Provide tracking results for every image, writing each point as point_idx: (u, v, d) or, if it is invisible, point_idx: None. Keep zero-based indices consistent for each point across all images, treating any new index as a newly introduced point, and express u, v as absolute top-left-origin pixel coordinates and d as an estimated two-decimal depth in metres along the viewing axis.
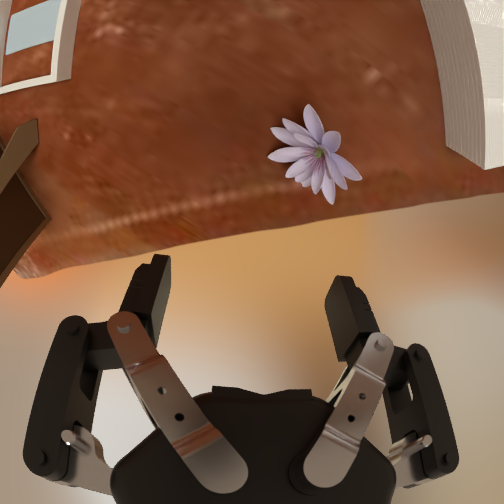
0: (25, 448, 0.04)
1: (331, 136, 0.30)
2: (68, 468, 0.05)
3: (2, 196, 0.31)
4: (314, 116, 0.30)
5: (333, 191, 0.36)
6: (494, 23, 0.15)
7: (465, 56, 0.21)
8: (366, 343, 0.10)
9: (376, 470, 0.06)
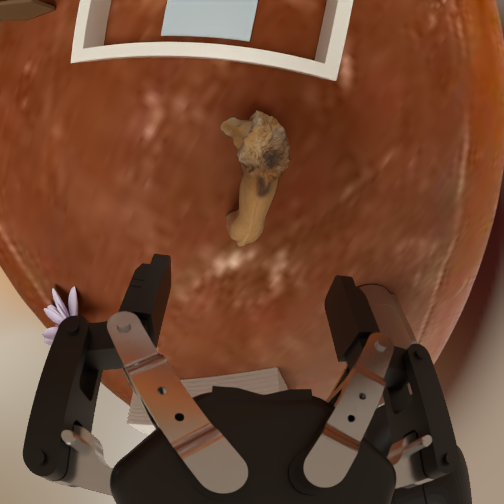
0: (24, 448, 0.04)
1: None
2: (68, 468, 0.05)
3: None
4: None
5: (52, 341, 0.37)
6: None
7: None
8: (366, 343, 0.10)
9: (376, 470, 0.06)
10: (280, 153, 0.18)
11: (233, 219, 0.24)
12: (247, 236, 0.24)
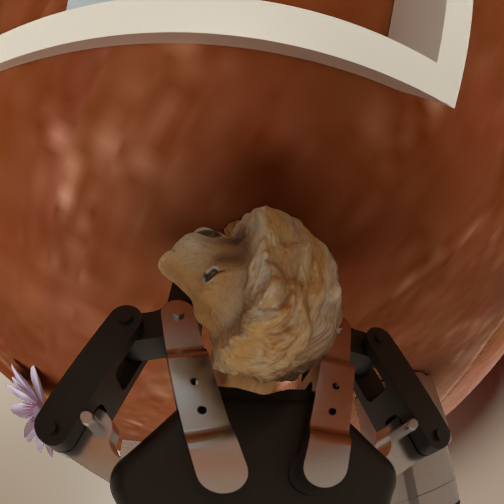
0: (39, 415, 0.05)
1: None
2: (76, 445, 0.05)
3: None
4: None
5: None
6: None
7: None
8: None
9: (373, 470, 0.06)
10: (323, 353, 0.07)
11: (219, 383, 0.13)
12: None
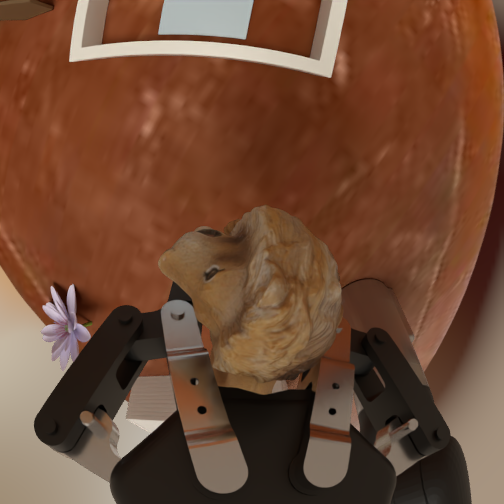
0: (39, 414, 0.05)
1: None
2: (76, 445, 0.05)
3: None
4: (87, 333, 0.35)
5: (50, 338, 0.37)
6: None
7: None
8: None
9: (373, 470, 0.06)
10: (324, 352, 0.07)
11: (219, 383, 0.13)
12: None
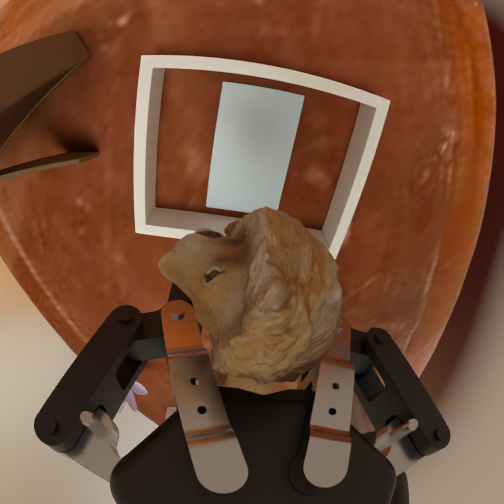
0: (39, 414, 0.05)
1: (133, 397, 0.47)
2: (76, 445, 0.05)
3: None
4: (142, 388, 0.48)
5: None
6: None
7: None
8: None
9: (372, 470, 0.06)
10: (324, 354, 0.07)
11: (218, 384, 0.13)
12: None
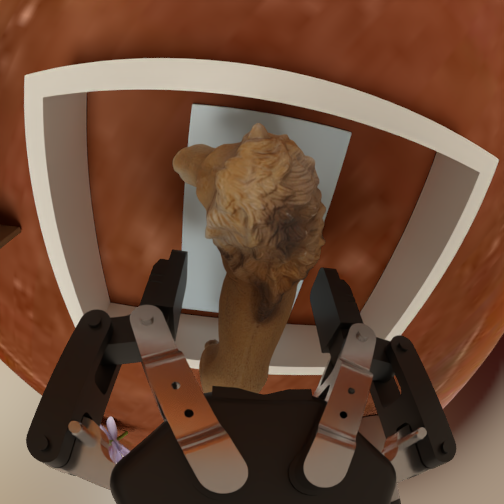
0: (29, 433, 0.05)
1: None
2: (70, 457, 0.05)
3: None
4: None
5: None
6: None
7: None
8: (347, 333, 0.10)
9: (374, 470, 0.06)
10: (310, 218, 0.07)
11: (208, 363, 0.12)
12: None
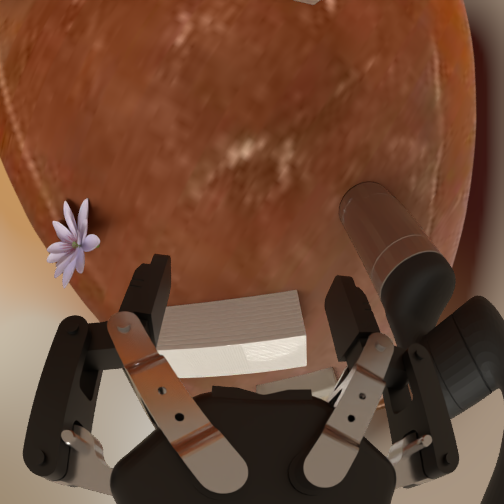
0: (24, 448, 0.04)
1: None
2: (68, 468, 0.05)
3: None
4: (96, 242, 0.37)
5: (55, 260, 0.39)
6: (250, 360, 0.48)
7: (211, 334, 0.47)
8: (366, 343, 0.10)
9: (376, 470, 0.06)
10: None
11: None
12: None
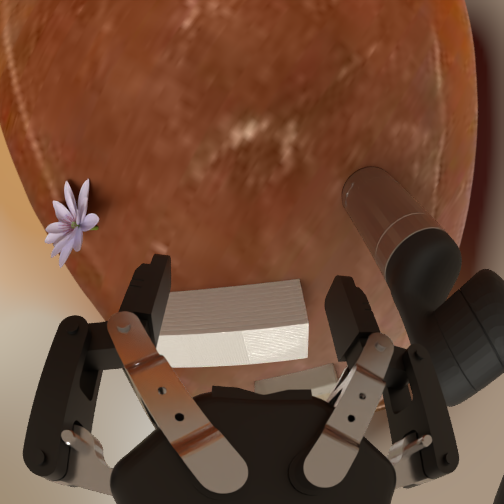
0: (24, 448, 0.04)
1: None
2: (68, 468, 0.05)
3: None
4: (95, 221, 0.37)
5: (53, 240, 0.38)
6: (249, 349, 0.47)
7: (211, 320, 0.46)
8: (366, 343, 0.10)
9: (376, 470, 0.06)
10: None
11: None
12: None
